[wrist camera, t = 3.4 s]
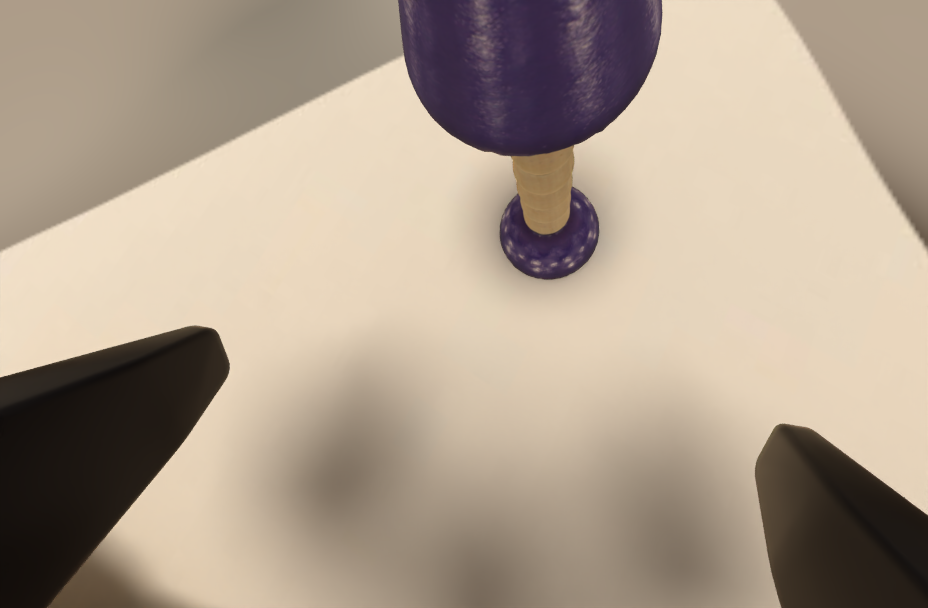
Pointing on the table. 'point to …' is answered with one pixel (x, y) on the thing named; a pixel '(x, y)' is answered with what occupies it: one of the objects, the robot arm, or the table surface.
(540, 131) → the toy lamp
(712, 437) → the table surface
